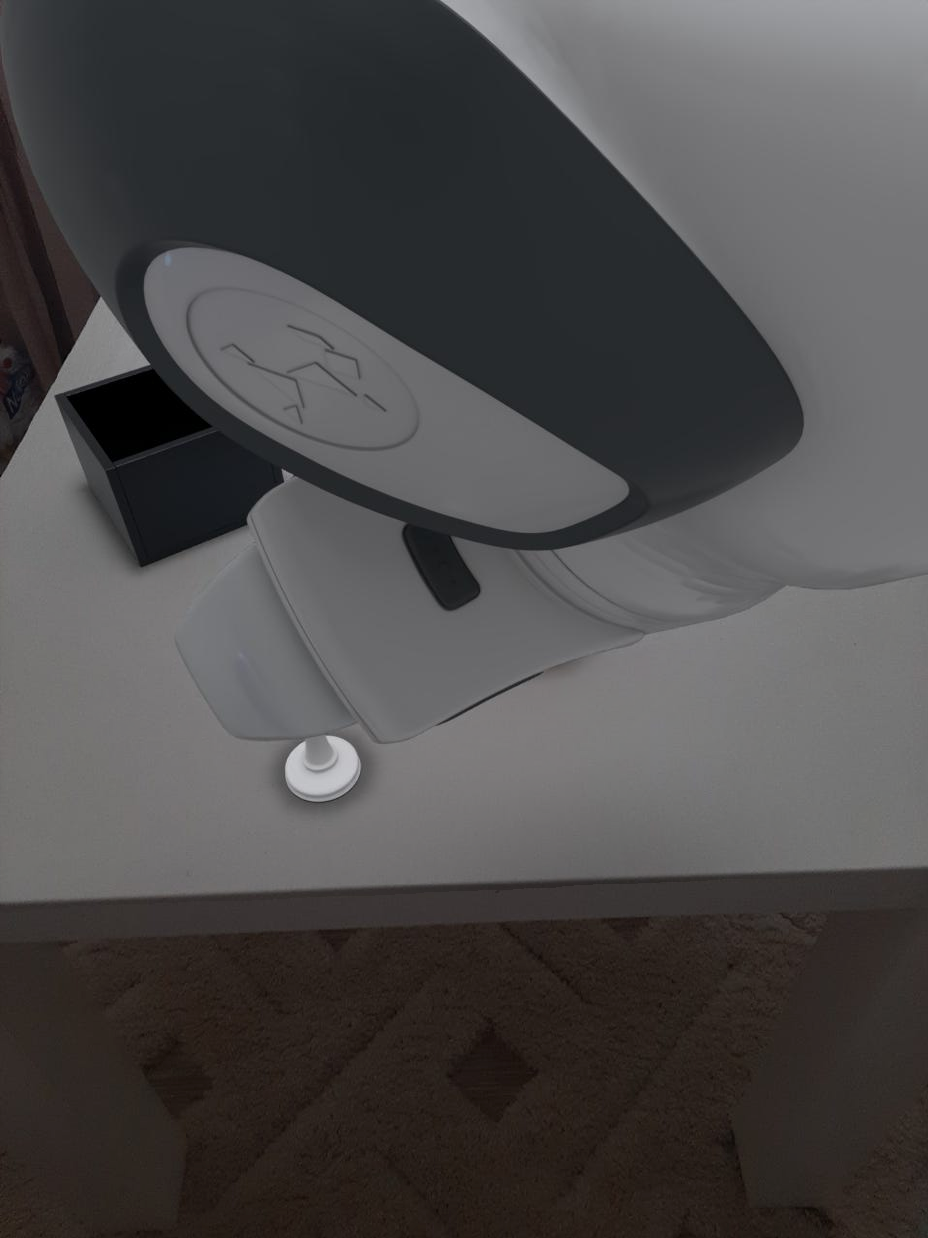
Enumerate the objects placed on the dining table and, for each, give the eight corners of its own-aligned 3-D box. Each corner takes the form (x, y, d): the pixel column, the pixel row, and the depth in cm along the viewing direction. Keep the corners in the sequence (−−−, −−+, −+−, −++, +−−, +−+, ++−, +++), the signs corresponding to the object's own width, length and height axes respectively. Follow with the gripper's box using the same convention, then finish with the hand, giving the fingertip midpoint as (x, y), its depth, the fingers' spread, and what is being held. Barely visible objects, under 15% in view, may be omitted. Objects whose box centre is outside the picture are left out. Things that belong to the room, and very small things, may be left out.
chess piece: (270, 773, 61) (238, 670, 54) (326, 729, 64) (303, 624, 57) (319, 815, 59) (292, 713, 52) (376, 768, 61) (358, 663, 54)
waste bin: (140, 567, 77) (104, 470, 70) (90, 488, 85) (53, 395, 79) (290, 507, 82) (269, 411, 75) (228, 438, 90) (205, 346, 84)
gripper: (791, 242, 28) (558, 402, 41) (188, 529, 20) (124, 621, 32) (882, 427, 29) (625, 529, 41) (337, 787, 20) (218, 779, 32)
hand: (404, 571), depth 37 cm, fingers open, 8 cm apart
